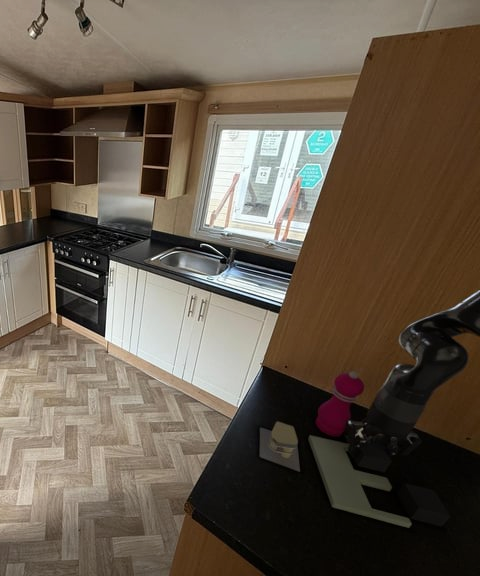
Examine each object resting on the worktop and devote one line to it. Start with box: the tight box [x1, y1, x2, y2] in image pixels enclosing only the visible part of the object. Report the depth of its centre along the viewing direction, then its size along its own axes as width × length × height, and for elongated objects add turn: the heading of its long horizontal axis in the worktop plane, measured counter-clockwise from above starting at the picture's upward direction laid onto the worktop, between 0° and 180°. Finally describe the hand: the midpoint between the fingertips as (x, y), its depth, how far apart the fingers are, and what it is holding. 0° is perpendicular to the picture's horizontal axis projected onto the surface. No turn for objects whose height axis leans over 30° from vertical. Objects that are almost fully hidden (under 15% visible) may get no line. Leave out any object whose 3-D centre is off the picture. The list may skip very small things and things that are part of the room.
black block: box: [396, 482, 452, 528], centre depth 67 cm, size 5×5×4 cm
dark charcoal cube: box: [353, 439, 392, 473], centre depth 76 cm, size 5×5×4 cm
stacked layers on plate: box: [259, 421, 301, 473], centre depth 80 cm, size 10×9×6 cm
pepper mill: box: [315, 371, 365, 438], centre depth 83 cm, size 7×7×20 cm
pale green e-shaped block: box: [307, 434, 413, 529], centre depth 74 cm, size 14×18×2 cm
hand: (366, 457), depth 76 cm, fingers closed on dark charcoal cube, 5 cm apart
